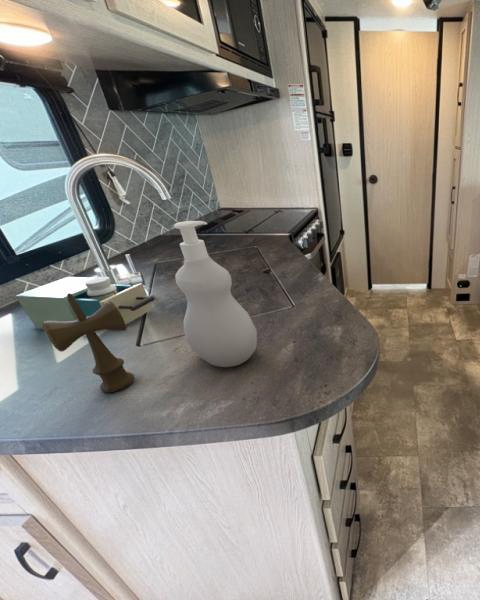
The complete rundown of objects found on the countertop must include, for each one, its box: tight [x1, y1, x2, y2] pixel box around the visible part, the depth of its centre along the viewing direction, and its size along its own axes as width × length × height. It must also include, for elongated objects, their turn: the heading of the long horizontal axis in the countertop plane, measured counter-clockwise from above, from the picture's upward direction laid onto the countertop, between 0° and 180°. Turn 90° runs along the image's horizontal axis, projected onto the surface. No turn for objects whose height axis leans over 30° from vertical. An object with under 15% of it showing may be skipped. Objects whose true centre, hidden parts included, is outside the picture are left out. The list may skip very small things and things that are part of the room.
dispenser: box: [15, 276, 114, 330], centre depth 83 cm, size 14×12×10 cm
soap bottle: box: [173, 220, 258, 368], centre depth 62 cm, size 17×12×29 cm
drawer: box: [67, 283, 155, 326], centre depth 82 cm, size 17×11×8 cm, turn 82°
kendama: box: [42, 293, 135, 393], centre depth 57 cm, size 6×10×20 cm, turn 143°
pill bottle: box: [85, 276, 119, 301], centre depth 81 cm, size 6×6×10 cm
